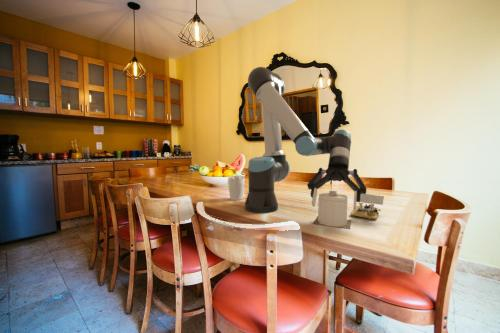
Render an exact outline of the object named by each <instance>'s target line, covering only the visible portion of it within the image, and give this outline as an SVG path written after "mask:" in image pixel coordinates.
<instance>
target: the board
mask: <svg viewBox="0 0 500 333" xmlns="http://www.w3.org/2000/svg"><path fill="white" fill-rule="evenodd" d="M312 225H316V226H323V227H327V226H326V225H323V224H321V223H319V222H318V215H317V216H316V218H315V219H314V221H313V223H312ZM351 225H352V220H351V219H347V224H346V225H345V226H342V227H336V228H338V229H346V230H351ZM328 227H331V228H334V227H333V226H328Z"/></svg>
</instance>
